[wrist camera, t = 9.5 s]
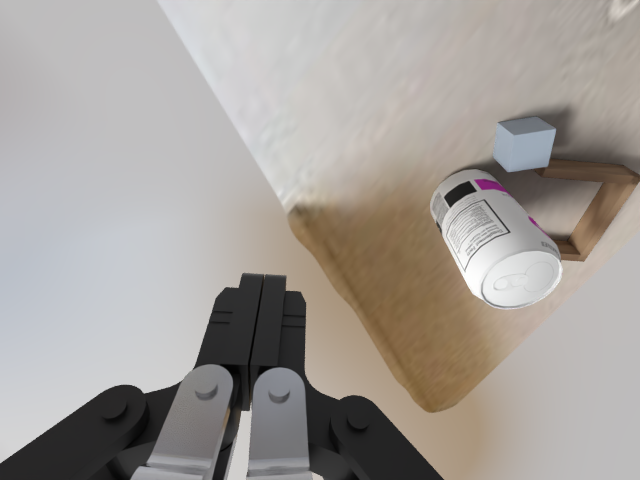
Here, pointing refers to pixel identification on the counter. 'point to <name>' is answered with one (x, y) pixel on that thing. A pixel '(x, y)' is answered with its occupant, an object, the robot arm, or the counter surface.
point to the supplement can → (495, 241)
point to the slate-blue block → (523, 144)
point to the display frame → (601, 208)
